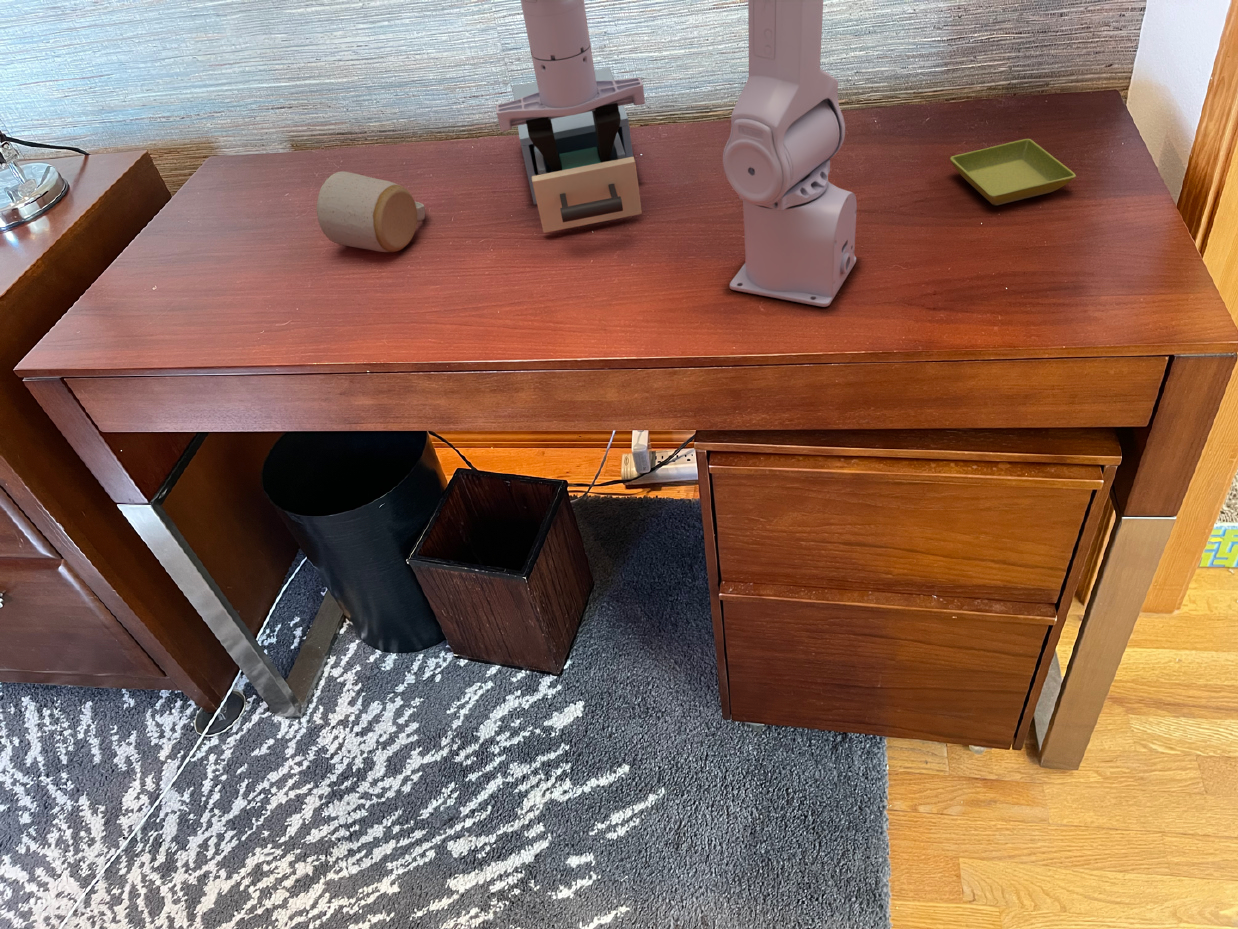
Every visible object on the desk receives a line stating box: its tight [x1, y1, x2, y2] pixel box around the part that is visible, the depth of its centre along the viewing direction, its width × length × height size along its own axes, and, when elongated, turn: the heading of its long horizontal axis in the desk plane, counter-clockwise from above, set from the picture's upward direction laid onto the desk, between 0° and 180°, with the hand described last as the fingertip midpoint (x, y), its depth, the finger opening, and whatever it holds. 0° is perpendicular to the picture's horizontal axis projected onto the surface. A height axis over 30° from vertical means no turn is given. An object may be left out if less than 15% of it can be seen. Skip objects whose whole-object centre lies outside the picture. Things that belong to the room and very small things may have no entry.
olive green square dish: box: [949, 138, 1077, 207], centre depth 88 cm, size 9×9×2 cm
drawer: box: [532, 132, 643, 234], centre depth 94 cm, size 18×10×6 cm, turn 8°
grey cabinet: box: [511, 67, 634, 205], centre depth 102 cm, size 15×12×8 cm
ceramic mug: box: [316, 170, 426, 253], centre depth 96 cm, size 11×8×8 cm
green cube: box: [559, 147, 601, 170], centre depth 94 cm, size 4×4×4 cm
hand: (583, 181), depth 94 cm, fingers closed on green cube, 4 cm apart
